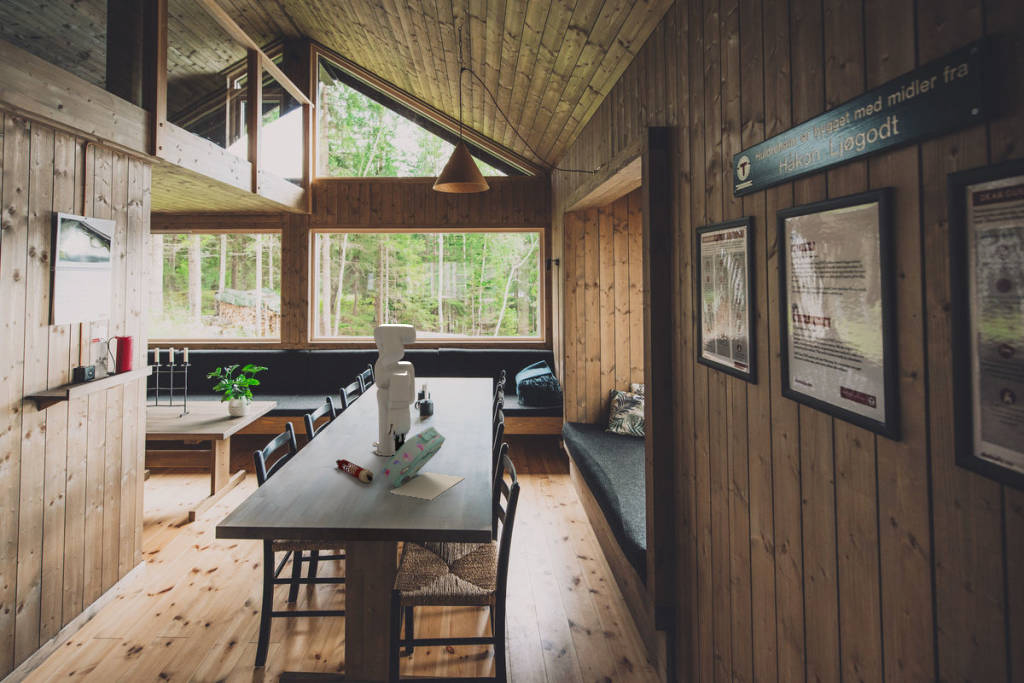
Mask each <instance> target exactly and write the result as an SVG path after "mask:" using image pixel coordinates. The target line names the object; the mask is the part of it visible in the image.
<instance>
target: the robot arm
mask: <svg viewBox="0 0 1024 683" xmlns="http://www.w3.org/2000/svg"><path fill="white" fill-rule="evenodd" d="M373 339H374V342H375V345H376V347H377V352H378V359H377V360H376V363H375V364H374V381H375V386H376V387H377V390H376V400H377V408H378V441H373V443H372V447H373V448H374V447H375V448H376V449H375V454H376V455H377V454H378V455H377V456H381V455H382V457H393V456H392V455H394V454H395V453H396V452H397V451H398V450H399V449H400V447H401V446H402V445H403V444H404V443H405V442H406V440H407V439H406V436H407V435H408V434H409V433H410V430H411V427H412V426H411V422H412V421H411V420H412V419H411V412H410V410H411V409H410V405H413V404H414V403H415V400H416V383H415V382H416V381H415V378H416V377H415V376H416V375H415V367H414V364H413V363H412V362H410V361H401V360H402V359H403V358H404V356H405V347H404V345H414V344H415V343H416V340H417V332H416V329H415V327H414V326H413V325H411V324H379V325H377V326H374V328H373Z"/></svg>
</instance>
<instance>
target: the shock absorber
mask: <svg viewBox="0 0 1024 683" xmlns="http://www.w3.org/2000/svg"><path fill="white" fill-rule="evenodd" d="M335 463H336V465H337V467H338V468H337V469H339V470H341V471H342V472H345V473H347V474H348V473H349V475H350V474H351V476H352V477H355V478H356V479H358V480H359V481H361V482H363V481H364V483H366V484H368V483H367V482H369V483H371V482H372V481H373V480H374V473H373V472H372V471H370V469H367V468H364V467H361V466H360V465H357V464H355V463H353V462H351V461H349V460H347V459H337V460H336V461H335ZM346 468H347V470H346ZM344 469H345V470H344ZM348 470H349V471H348Z"/></svg>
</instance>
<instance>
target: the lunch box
mask: <svg viewBox="0 0 1024 683" xmlns="http://www.w3.org/2000/svg"><path fill="white" fill-rule="evenodd" d="M445 441H446V437H445V436H443V435H442V434H441V433H440V432H439V431H438V430H436V428H435V427H434V426H432V425H431V426H429V427H427V428H425V429H423V430H422V431H420V432H418V433H417V434H415V435H414V436H412V437H410V438H409V439H406V440H405V443H404V444H403V445H402V446H401V447H400V449H399V450H398V451H397V452H396V453H395V454H394V456H391V458H390V459H389V461H388V462H386V464H385V465H384V466H383V468H382V469H381V474H382V475H383V476H384V477H385V478H386V479H387V480H389V481H390V482H391V483H392V484H393V486H394V487H395V488H398V487H399V486H401V485H403V484H405V483H407V482H408V480H411V478H413V477H414V476H415V475H416V474H417V473H419V472H420V471H421V470H422V469H423V467H424V466H425V465H426V464H427V463H428V462H429V461H430V460H431V459H433V457H435V455H436V454H438V452H439V451H440V450H441V449H442V446H443V444H444V442H445Z"/></svg>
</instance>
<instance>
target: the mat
mask: <svg viewBox="0 0 1024 683" xmlns="http://www.w3.org/2000/svg"><path fill="white" fill-rule="evenodd" d="M464 478H465V477H463V476H455V475H450V474H443V473H437V472H430V471H426V472H423V473H422V474H420V475H418V476H416V477H414V478H412V479H409V481H406V482H405V483H404V484H402V485H400V486H399V487H395V488H394V489H392V490H391V491H392V492H391V491H389V492H391V493H390V494H392V493H393V492H394V493H395V494H394V495H397V494H401V495H400V496H403V495H406V496H405V497H409V496H412V497H411V498H414V497H417V499H420V498H423V499H422V500H426V499H429V500H428V501H432V499H433V498H434V499H436V498H437V497H439V496H440V495H442V494H444V493H445V492H446V491H448V490H449V489H452V488H453V487H454V486H456V485H457V484H459V483H460V482H462V481H464V480H465V479H464ZM461 480H462V481H461ZM458 482H459V483H458ZM455 484H456V485H455ZM453 485H454V486H453ZM452 486H453V487H452ZM444 491H445V492H444ZM441 493H442V494H441ZM438 495H439V496H438ZM436 496H437V497H436ZM435 497H436V498H435ZM434 499H433V500H434Z"/></svg>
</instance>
